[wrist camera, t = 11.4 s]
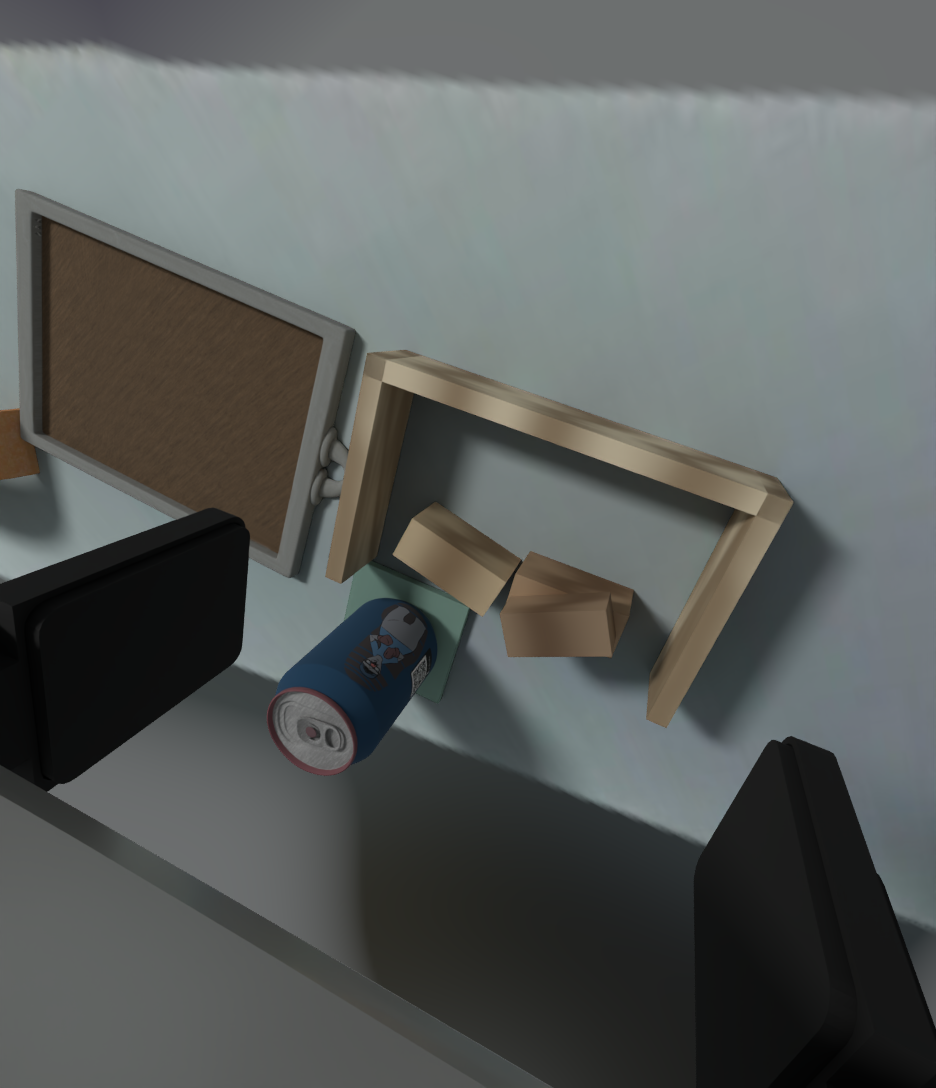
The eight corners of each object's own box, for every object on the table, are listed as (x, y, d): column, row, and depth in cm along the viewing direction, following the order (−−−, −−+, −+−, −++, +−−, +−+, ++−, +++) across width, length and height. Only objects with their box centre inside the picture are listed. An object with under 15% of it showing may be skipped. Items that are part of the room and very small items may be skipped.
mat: (471, 604, 40) (469, 607, 40) (440, 699, 44) (438, 703, 44) (361, 556, 42) (357, 559, 42) (340, 652, 46) (336, 655, 45)
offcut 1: (522, 558, 38) (506, 582, 35) (499, 590, 40) (482, 616, 36) (436, 500, 39) (412, 518, 35) (417, 534, 40) (392, 554, 37)
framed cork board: (13, 186, 40) (384, 345, 35) (36, 191, 41) (395, 344, 36) (18, 438, 48) (319, 595, 43) (37, 435, 50) (330, 586, 45)
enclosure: (777, 477, 31) (793, 502, 27) (667, 680, 38) (666, 727, 33) (405, 349, 36) (367, 353, 31) (362, 550, 42) (325, 576, 38)
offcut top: (610, 591, 33) (605, 610, 31) (616, 635, 33) (612, 656, 31) (510, 596, 35) (499, 613, 33) (518, 637, 36) (508, 656, 34)
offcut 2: (633, 589, 36) (629, 617, 33) (617, 627, 38) (611, 658, 34) (530, 550, 38) (515, 573, 34) (518, 588, 39) (502, 614, 35)
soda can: (358, 660, 45) (260, 763, 34) (360, 581, 42) (253, 666, 32) (441, 683, 43) (363, 800, 32) (447, 602, 40) (365, 700, 30)
